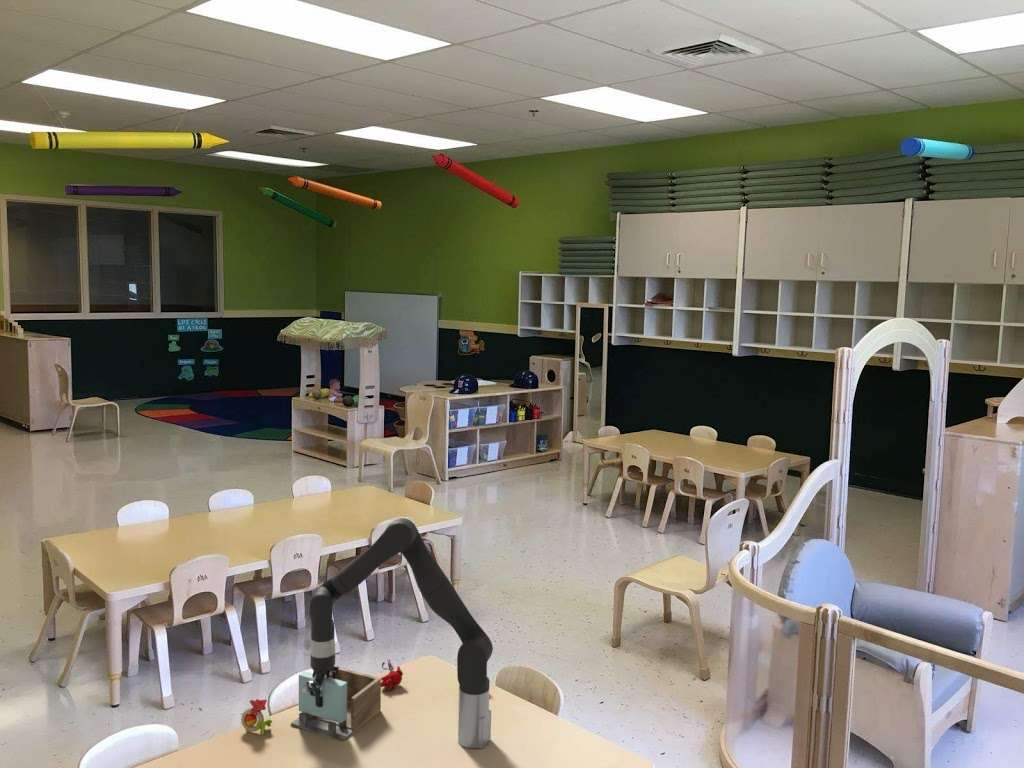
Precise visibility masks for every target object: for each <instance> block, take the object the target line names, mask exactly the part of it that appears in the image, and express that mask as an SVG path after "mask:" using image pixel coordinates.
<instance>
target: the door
mask: <svg viewBox="0 0 1024 768" xmlns="http://www.w3.org/2000/svg"><path fill="white" fill-rule="evenodd" d="M312 675H313V672H310V671H306V670H303V672H301V673H299V674H298V712H300V713H302V712H304V713H308V714H311V715H314V716H318V717H321V718H325V719H328V720H332V721H335V722H339V723H342V722H343V721H345V720H346V719H347V682H345V681H341V680H337V679H333V678H327V679H326V681H325V682H324V689H323V695H322V696H323V706H322V707H321V708H320V707H317V706H316V705H315V703H316V702H315V696H311V695H310V692H309V689H308V687H307V684H306V683H307V681H311V679H312V678H313V677H312ZM317 685H320V684H317ZM320 686H321V685H320ZM318 692H320V689H318Z"/></svg>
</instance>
